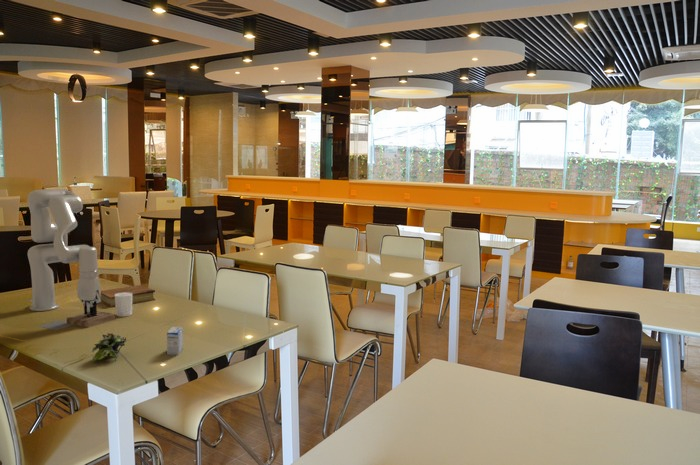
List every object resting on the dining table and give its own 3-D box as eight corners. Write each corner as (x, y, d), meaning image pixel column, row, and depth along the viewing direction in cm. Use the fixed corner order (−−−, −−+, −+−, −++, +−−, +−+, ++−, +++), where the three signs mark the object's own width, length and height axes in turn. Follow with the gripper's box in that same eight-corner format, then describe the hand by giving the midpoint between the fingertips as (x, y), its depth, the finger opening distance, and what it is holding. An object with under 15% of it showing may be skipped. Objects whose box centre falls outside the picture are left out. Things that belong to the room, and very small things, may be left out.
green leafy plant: (109, 369, 211) (123, 339, 216) (122, 371, 204) (137, 340, 209) (82, 358, 204) (97, 328, 209) (95, 360, 197) (110, 328, 202)
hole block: (67, 324, 251) (66, 317, 250) (93, 316, 263) (93, 310, 263) (88, 328, 244) (88, 321, 244) (114, 320, 257) (114, 314, 257)
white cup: (136, 312, 270) (135, 292, 269) (128, 317, 262) (127, 296, 261) (120, 312, 271) (119, 292, 270) (112, 316, 263) (111, 295, 262)
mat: (37, 327, 246) (37, 326, 246) (58, 321, 255) (58, 320, 255) (56, 330, 240) (55, 329, 240) (76, 324, 249) (76, 324, 249)
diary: (140, 295, 310) (140, 284, 309) (155, 301, 296) (155, 290, 295) (97, 301, 294) (97, 290, 293) (110, 308, 281) (110, 296, 280)
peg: (85, 321, 253) (84, 299, 252) (91, 319, 256) (90, 298, 255) (90, 322, 252) (89, 300, 251) (96, 320, 254) (95, 299, 253)
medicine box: (171, 348, 219) (171, 326, 218) (183, 348, 220) (182, 326, 219) (167, 355, 212) (166, 332, 211) (179, 354, 212) (178, 332, 211)
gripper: (69, 274, 251) (71, 314, 254) (94, 277, 244) (96, 318, 246) (83, 271, 258) (85, 310, 260) (108, 274, 251) (110, 314, 253)
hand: (90, 314), depth 253 cm, fingers closed on peg, 2 cm apart
